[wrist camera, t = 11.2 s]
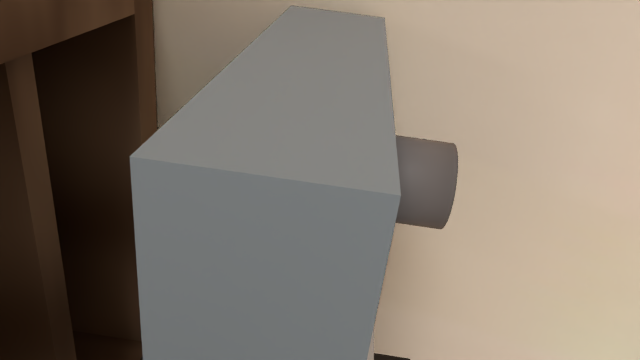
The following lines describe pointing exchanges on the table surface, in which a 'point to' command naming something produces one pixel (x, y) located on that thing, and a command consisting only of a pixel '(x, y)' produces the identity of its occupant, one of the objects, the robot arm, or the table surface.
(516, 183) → the table surface
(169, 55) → the table surface
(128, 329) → the cabinet
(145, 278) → the door
